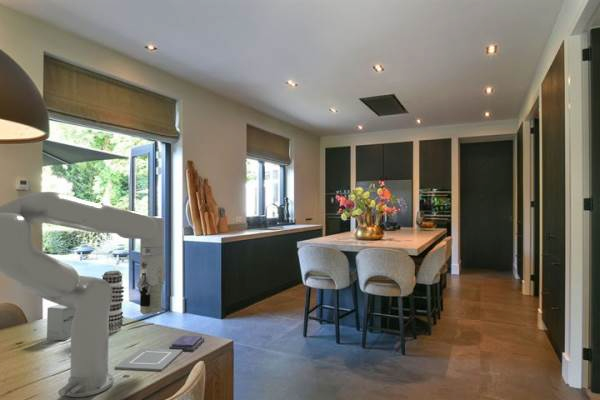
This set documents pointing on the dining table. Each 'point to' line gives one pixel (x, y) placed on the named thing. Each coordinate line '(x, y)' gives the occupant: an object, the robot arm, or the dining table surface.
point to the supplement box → (59, 322)
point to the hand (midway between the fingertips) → (151, 302)
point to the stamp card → (149, 359)
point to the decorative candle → (115, 300)
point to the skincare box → (153, 299)
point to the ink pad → (187, 343)
